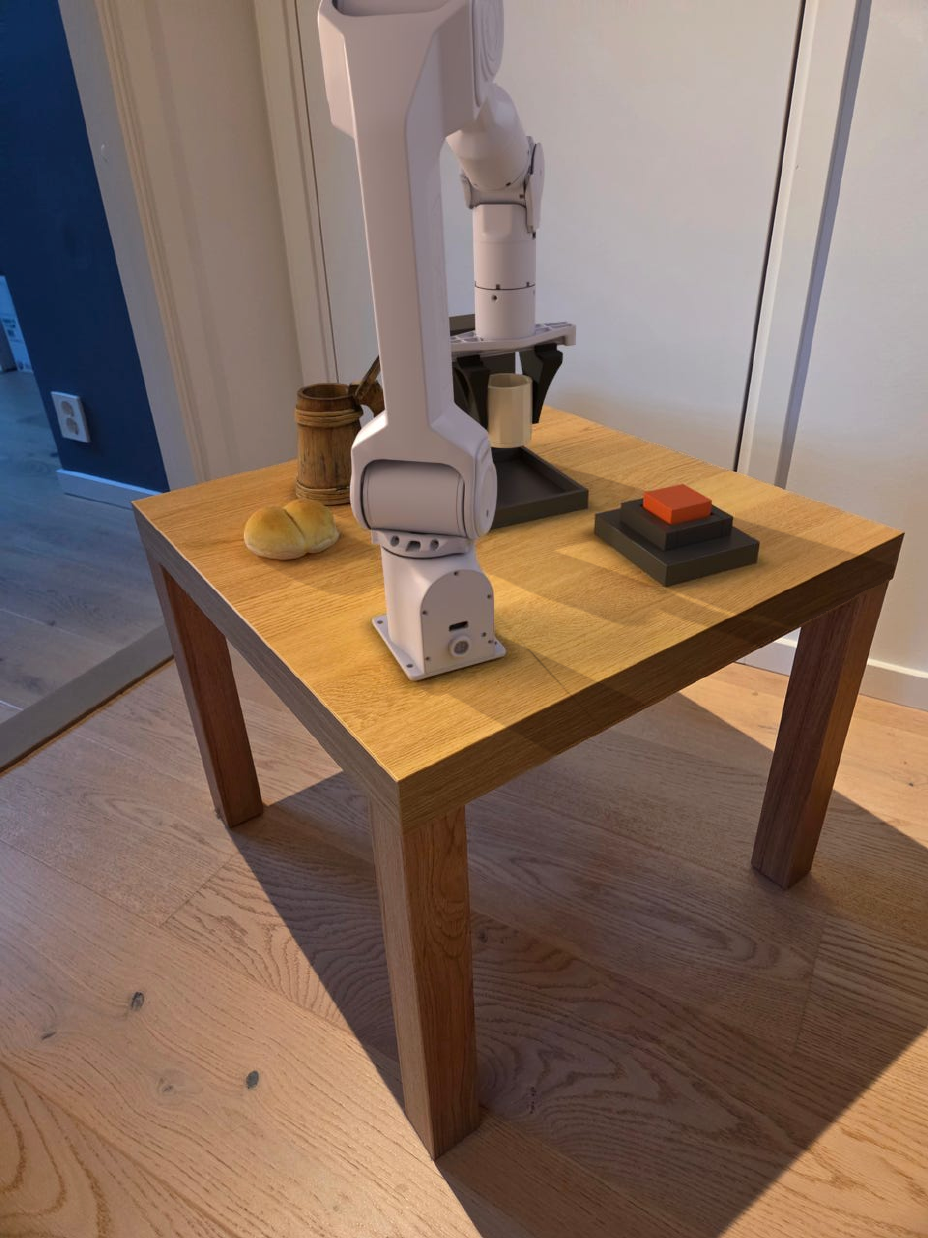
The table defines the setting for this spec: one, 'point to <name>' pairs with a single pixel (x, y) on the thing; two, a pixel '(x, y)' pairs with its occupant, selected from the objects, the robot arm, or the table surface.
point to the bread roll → (291, 530)
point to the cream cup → (509, 410)
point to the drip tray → (532, 488)
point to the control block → (676, 543)
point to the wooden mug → (332, 434)
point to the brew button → (677, 504)
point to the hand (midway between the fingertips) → (506, 425)
